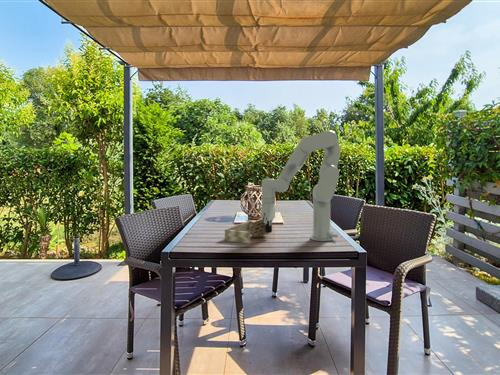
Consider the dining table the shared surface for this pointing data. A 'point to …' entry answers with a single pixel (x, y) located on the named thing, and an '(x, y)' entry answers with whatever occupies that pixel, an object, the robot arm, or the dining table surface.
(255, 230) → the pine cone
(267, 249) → the dining table surface
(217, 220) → the dining table surface
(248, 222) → the box
